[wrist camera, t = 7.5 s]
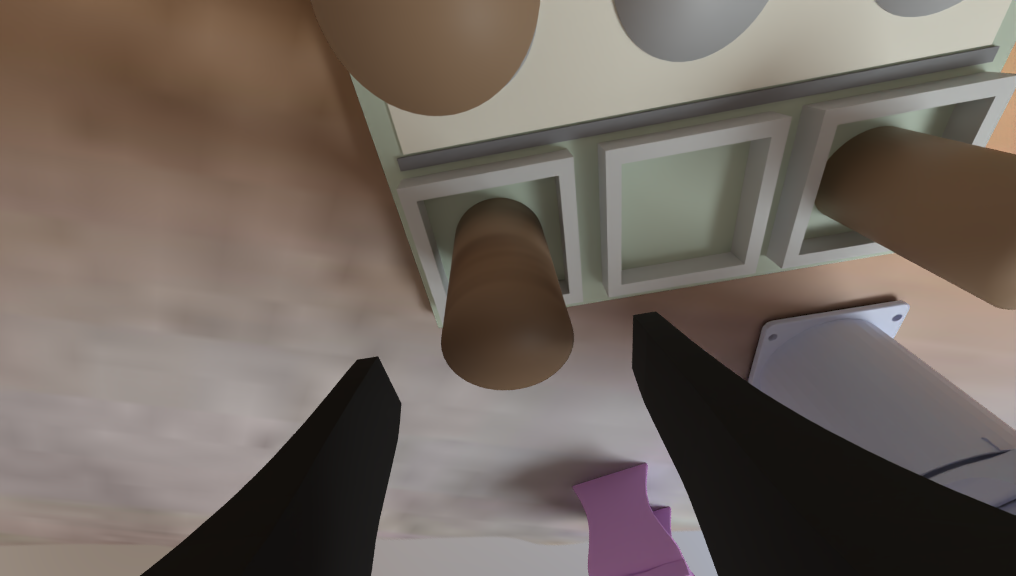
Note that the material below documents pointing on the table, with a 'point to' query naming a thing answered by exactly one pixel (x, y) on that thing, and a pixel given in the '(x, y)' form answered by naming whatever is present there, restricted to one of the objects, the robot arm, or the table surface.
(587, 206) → the pin board
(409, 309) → the table surface
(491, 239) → the walnut pin
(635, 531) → the toy chair
